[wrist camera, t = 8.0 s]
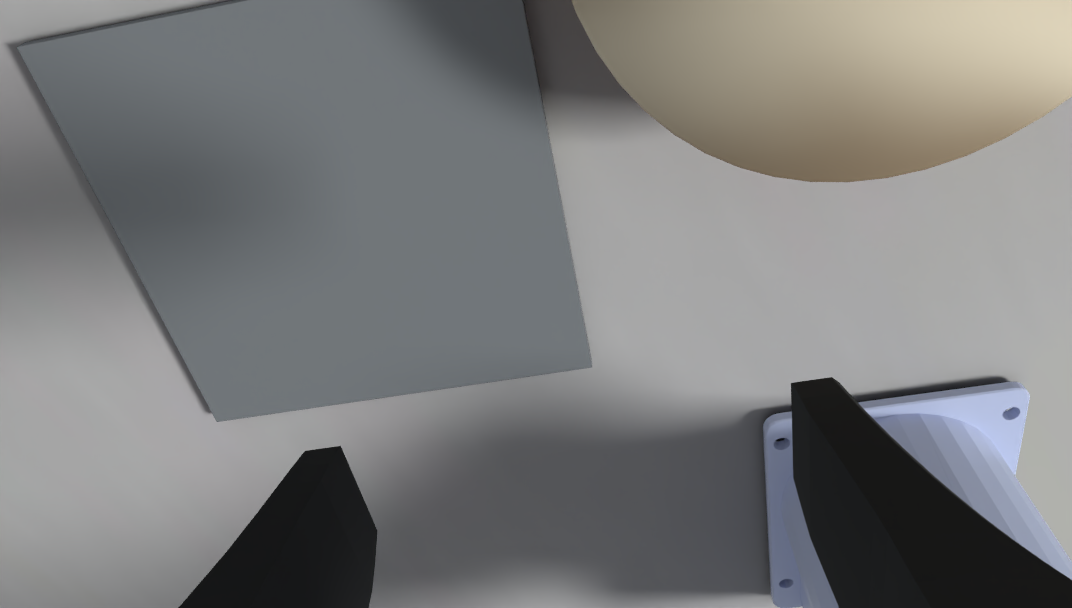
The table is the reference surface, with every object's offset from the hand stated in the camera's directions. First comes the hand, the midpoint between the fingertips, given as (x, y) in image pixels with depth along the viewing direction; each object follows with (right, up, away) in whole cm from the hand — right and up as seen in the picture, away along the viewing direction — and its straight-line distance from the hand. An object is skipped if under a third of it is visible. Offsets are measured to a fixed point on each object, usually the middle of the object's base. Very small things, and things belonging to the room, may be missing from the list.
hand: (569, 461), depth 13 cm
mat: (-6, +5, +9) cm, 12 cm away
